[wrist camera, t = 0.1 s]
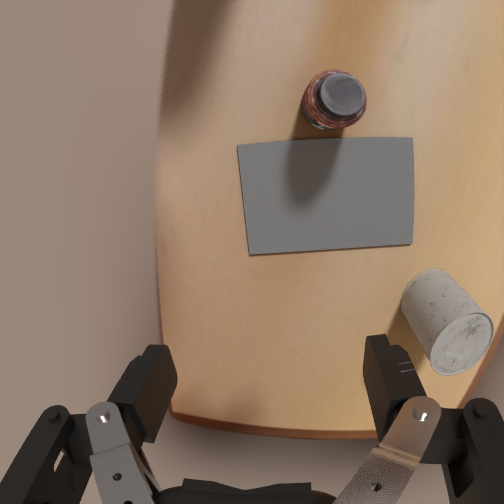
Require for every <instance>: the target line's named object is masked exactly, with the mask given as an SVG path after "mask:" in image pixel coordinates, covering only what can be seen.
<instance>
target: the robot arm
mask: <svg viewBox="0 0 504 504" xmlns="http://www.w3.org/2000/svg"><path fill="white" fill-rule="evenodd" d="M363 377H364V382H365V386H366V390H367V394H368V398H369V402H370V406H371V410H372V414H373V418H374V422H375V427H376V431H377V436H378V440H379V442H381V443H380V445H379V446H375V447H374V449H373V450H372V451H371V453H370V454H369V456H368V457H367V458H366V460H365V461H364V463H363V464H362V466H361V467H360V468H359V470H358V471H357V473H356V474H355V475H354V477H353V478H352V479H351V481H350V482H349V483H348V485H347V486H346V487H345V488H344V490H343V491H342V492H341V493H340V495H339V496H338V497H337V498H336V497H334V496H332V495H330V494H327V493H324V492H320V491H314V490H311V482H310V483H287V484H276V485H270V486H265V487H260V488H255V489H249V490H242V489H238V488H234V487H230V486H227V485H224V484H220V483H217V482H213V481H204V480H194V479H186V478H184V480H183V484H182V486H177V487H172V488H168V489H165V490H162V489H161V487H160V485H159V484H158V482H157V480H156V478H155V476H154V474H153V472H152V469H151V467H150V465H149V463H148V461H147V459H146V457H145V454H144V452H143V450H142V448H141V447H142V444H143V442H149V443H154V441H155V439H156V436H157V434H158V431H159V429H160V426H161V424H162V421H163V419H164V416H165V414H166V411H167V408H168V406H169V403H170V401H171V398H172V396H173V394H174V391H175V389H176V386H177V372H176V369H175V366H174V363H173V360H172V357H171V353H170V350H169V348H168V346H167V345H151V344H150V345H148V346H147V348H146V350H145V351H144V353H143V355H142V356H137V357H136V358H135V359H134V360H133V361H131V362H130V363H129V365H128V366H127V368H126V370H125V372H124V373H123V375H122V376H121V379H120V380H119V381H118V383H117V385H116V386H115V388H114V390H113V391H112V393H111V395H110V396H109V398H108V400H107V401H106V402H100V403H97V404H95V405H94V406H92V407H91V408H90V409H89V410H88V411H87V413H86V414H74V415H70V413H69V412H68V410H67V408H65V407H64V406H61V405H55V406H52V407H49V408H48V409H46V410H45V411H44V412H43V413H42V414H41V416H40V418H39V419H38V421H37V422H36V424H35V425H34V427H33V429H32V430H31V432H30V433H29V435H28V437H27V438H26V440H25V442H24V443H23V445H22V447H21V449H20V450H19V452H18V454H17V455H16V457H15V458H14V460H13V462H12V464H11V465H10V467H9V469H8V471H7V472H6V474H5V476H4V478H3V480H2V481H1V483H0V504H79V503H80V501H81V498H82V496H83V493H84V491H85V488H86V485H87V483H88V481H89V478H90V476H91V473H92V471H93V473H94V477H95V480H96V484H97V487H98V490H99V494H100V497H101V500H102V502H103V504H396V503H397V501H398V500H399V498H400V496H401V495H402V493H403V491H404V490H405V488H406V486H407V484H408V482H409V481H410V479H411V477H412V475H413V473H414V472H415V470H416V468H417V466H418V464H419V463H426V464H441V465H442V469H443V473H444V478H445V482H446V486H447V491H448V496H449V500H450V504H504V421H503V419H502V416H501V414H500V412H499V410H498V408H497V406H496V405H495V404H494V403H493V402H492V401H490V400H488V399H485V398H475V399H472V400H470V401H469V402H468V403H467V404H466V405H465V407H464V409H448V408H442V407H440V405H439V404H438V403H437V402H436V401H435V400H434V399H432V398H429V397H427V395H426V393H425V391H424V388H423V386H422V384H421V381H420V379H419V377H418V375H417V373H416V370H415V369H414V366H413V364H412V363H411V359H410V357H409V355H408V353H407V352H406V351H405V350H404V349H403V348H402V347H400V346H399V345H393V346H391V345H390V343H389V341H388V338H387V336H386V335H385V334H381V335H372V336H367V337H366V342H365V352H364V362H363ZM61 451H62V452H63V453H64V455H63V457H62V459H61V461H60V463H59V465H58V467H57V469H56V471H55V472H54V464H55V461H56V460H57V457H58V456H59V453H60V452H61Z"/></svg>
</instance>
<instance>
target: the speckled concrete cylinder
mask: <svg viewBox="0 0 504 504" xmlns="http://www.w3.org/2000/svg"><path fill="white" fill-rule="evenodd" d="M401 310H402V313H403V316H404V317H405V318H406V320H407V321H408V323H409V325H410V327H411V328H412V330H413V332H414V334H415V336H416V337H417V339H418V341H419V343H420V345H421V346H422V348H423V350H424V352H425V354H426V356H427V358H428V359H429V361H430V364H431V367H432V368H433V370H434V371H435V372H437V373H438V374H441V375H446V376H451V375H455V374H459V373H461V372H464V371H465V370H467V369H469V368H471V367H472V366H473V365H474V364H476V363H477V362H478V361H479V360H480V359H481V358H482V357H483V355H484V354H485V353H486V351H487V350H488V348H489V346H490V344H491V342H492V339H493V335H494V323H493V321H492V318H491V317H490V316H489V315H488V314H487V313H485V312H484V311H483V310H482V308H481V307H480V306H479V305H478V304H477V303H476V302H475V301H474V300H473V299H472V298H471V297H470V296H469V295H468V294H467V293H466V292H465V291H464V290H463V288H462V287H461V286H460V285H459V284H458V283H457V282H456V281H455V280H454V279H453V278H452V277H451V276H450V275H449V274H448V273H447V272H445V271H443V270H440V269H430V270H427V271H424V272H422V273H420V274H419V275H417V276H416V277H415V278H414V279H412V281H411V282H410V283H409V284H408V285H407V287H406V289H405V291H404V293H403V296H402V300H401Z"/></svg>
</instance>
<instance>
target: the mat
mask: <svg viewBox="0 0 504 504" xmlns="http://www.w3.org/2000/svg"><path fill="white" fill-rule="evenodd" d="M237 149H238V158H239V166H240V175H241V184H242V193H243V202H244V210H245V219H246V228H247V237H248V245H249V254H250V255H251V254H267V253H282V252H297V251H312V250H327V249H342V248H357V247H371V246H386V245H401V244H412V241H413V220H414V155H413V138H391V137H365V138H327V139H307V140H292V141H278V142H267V143H256V144H246V145H237Z"/></svg>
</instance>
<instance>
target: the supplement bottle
mask: <svg viewBox="0 0 504 504" xmlns="http://www.w3.org/2000/svg"><path fill="white" fill-rule="evenodd" d="M366 105H367V97H366V93H365V90H364V88H363V86H362V84H361V83H360V82H359V80H357V78H356V77H354V76H353V75H351V74H350V73H348V72H345V71H342V70H336V69H333V70H326V71H323V72H321V73H319V74H318V75H316V76H315V77H314V78H313V79H312V80H311V82H310V83H309V85H308V87H307V89H306V90H305V92H304V95H303V97H302V100H301V109H302V113H303V115H304V117H305V119H306V120H307V121H308V122H309V123H310V124H312V125H313V126H315V127H317V128H319V129H324V130H332V129H338V128H344V127H348V126H350V125H353V124H355V123H356V122H357V121H358V120H359V119H360V118H361V117H362V116H363V114H364V112H365V110H366Z"/></svg>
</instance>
